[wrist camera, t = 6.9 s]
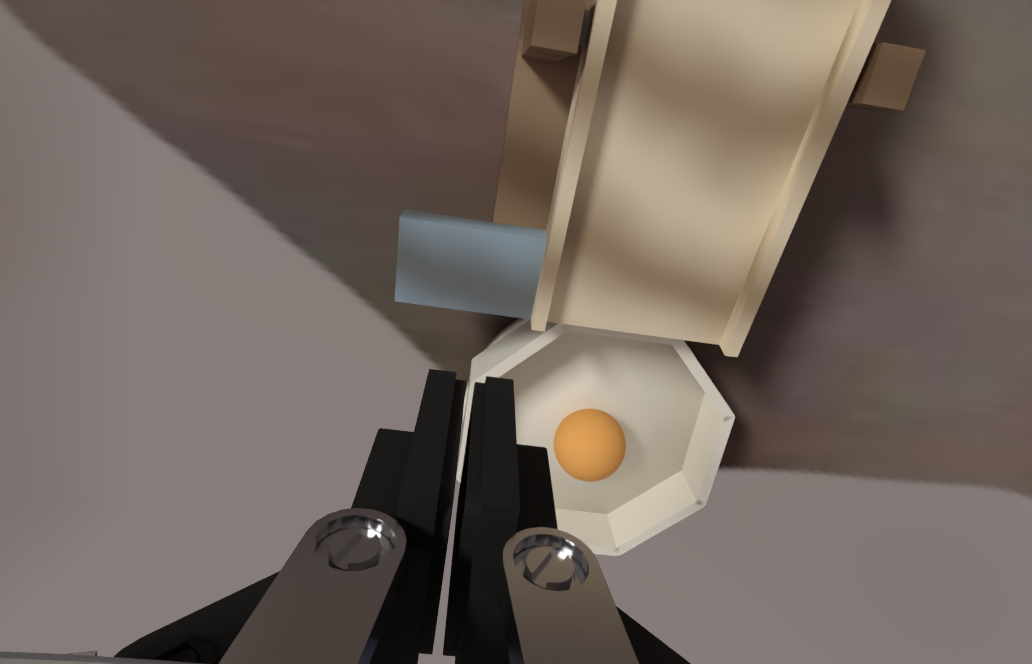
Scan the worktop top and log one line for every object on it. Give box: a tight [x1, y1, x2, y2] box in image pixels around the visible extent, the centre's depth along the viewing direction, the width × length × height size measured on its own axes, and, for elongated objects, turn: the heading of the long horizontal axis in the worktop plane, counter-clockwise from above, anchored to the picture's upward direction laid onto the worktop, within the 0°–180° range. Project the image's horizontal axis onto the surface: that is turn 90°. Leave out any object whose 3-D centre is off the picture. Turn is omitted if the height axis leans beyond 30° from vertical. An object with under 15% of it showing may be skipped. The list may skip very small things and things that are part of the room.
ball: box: [554, 409, 626, 482], centre depth 34 cm, size 4×4×4 cm
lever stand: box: [493, 0, 926, 230], centre depth 25 cm, size 23×14×9 cm, turn 171°
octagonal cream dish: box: [457, 318, 735, 556], centre depth 34 cm, size 14×14×4 cm
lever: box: [395, 0, 891, 357], centre depth 23 cm, size 22×16×6 cm
